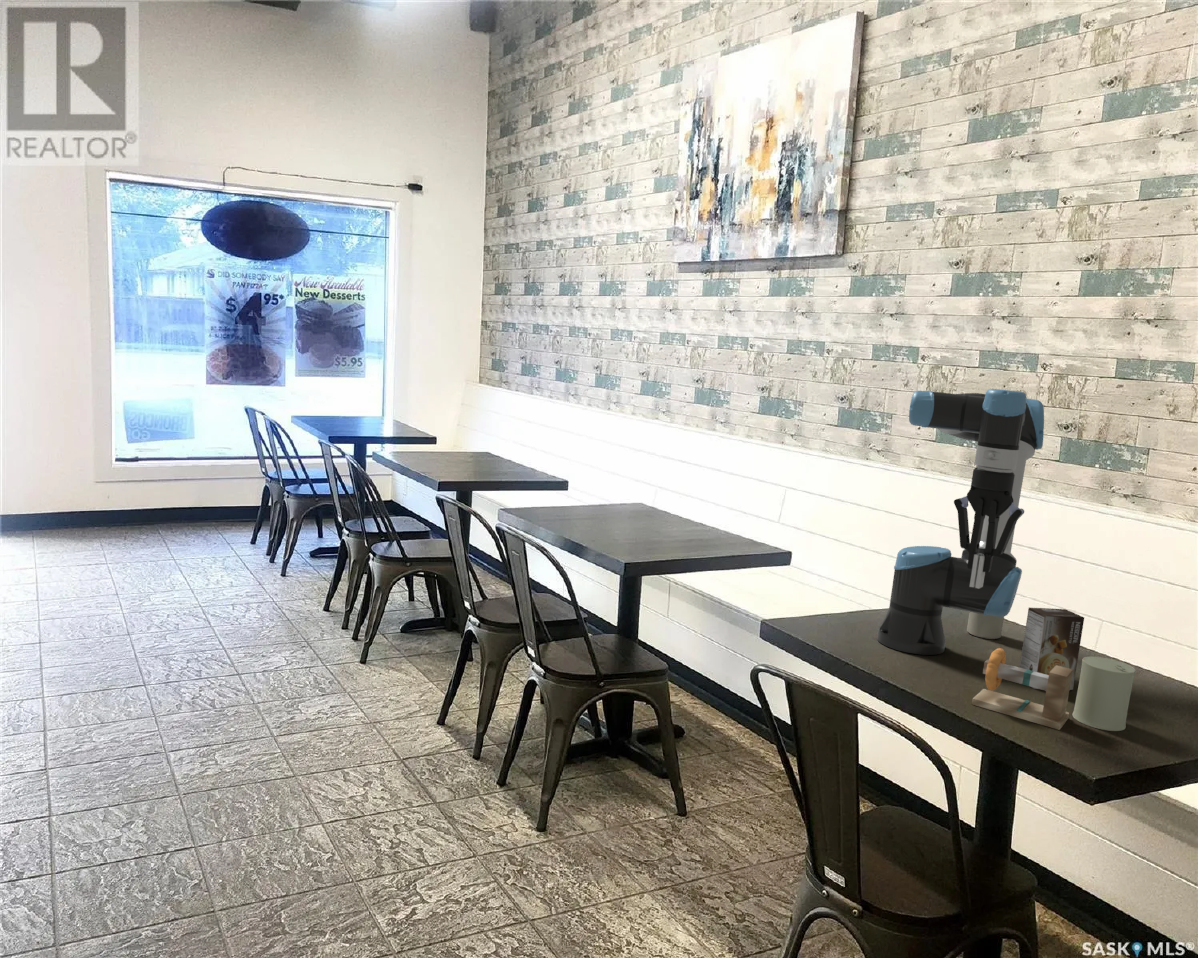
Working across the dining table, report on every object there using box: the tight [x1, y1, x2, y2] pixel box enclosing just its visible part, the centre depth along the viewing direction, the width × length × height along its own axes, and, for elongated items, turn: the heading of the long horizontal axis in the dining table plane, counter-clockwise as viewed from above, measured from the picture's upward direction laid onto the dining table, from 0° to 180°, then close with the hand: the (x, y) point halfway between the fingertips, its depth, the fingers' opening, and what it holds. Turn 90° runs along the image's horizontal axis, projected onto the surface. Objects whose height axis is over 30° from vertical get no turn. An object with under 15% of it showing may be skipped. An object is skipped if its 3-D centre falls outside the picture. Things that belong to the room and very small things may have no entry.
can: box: [1072, 655, 1137, 732], centre depth 183 cm, size 9×9×12 cm
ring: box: [984, 647, 1007, 691], centre depth 187 cm, size 2×8×8 cm, turn 143°
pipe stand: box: [971, 658, 1073, 731], centre depth 185 cm, size 16×8×10 cm, turn 53°
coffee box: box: [1019, 607, 1085, 691], centre depth 202 cm, size 9×6×16 cm
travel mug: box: [966, 612, 1005, 640], centre depth 236 cm, size 8×8×18 cm
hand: (976, 586), depth 189 cm, fingers closed
